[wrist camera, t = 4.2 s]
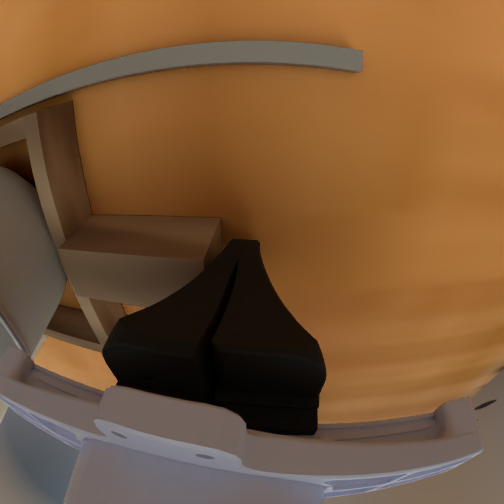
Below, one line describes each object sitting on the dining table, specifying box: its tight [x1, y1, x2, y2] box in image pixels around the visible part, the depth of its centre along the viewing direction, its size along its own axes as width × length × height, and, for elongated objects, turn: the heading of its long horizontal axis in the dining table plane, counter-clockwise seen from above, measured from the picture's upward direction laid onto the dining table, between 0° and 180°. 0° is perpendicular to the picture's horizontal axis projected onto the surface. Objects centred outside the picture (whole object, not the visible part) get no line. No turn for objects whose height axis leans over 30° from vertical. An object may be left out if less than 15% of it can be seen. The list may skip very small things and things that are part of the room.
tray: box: [0, 101, 222, 352], centre depth 13 cm, size 15×25×3 cm, turn 90°
